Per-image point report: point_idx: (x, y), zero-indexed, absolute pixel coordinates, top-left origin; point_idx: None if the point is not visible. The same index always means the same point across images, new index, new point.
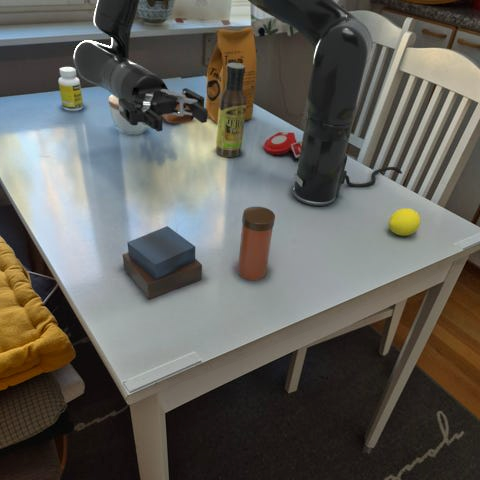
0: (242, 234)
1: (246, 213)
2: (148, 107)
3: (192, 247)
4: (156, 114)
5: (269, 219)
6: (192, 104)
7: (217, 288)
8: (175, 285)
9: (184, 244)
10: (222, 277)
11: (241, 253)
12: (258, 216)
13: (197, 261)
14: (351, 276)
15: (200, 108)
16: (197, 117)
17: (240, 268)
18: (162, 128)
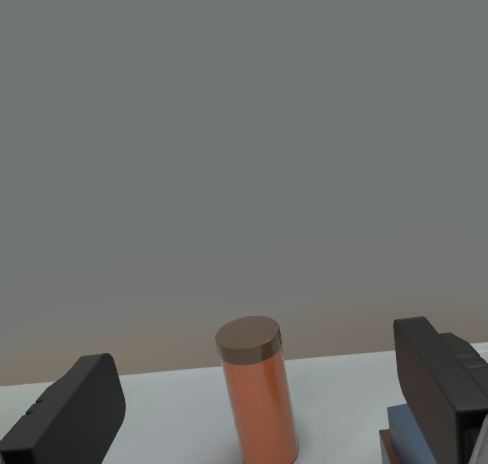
0: (283, 369)
1: (265, 337)
2: (483, 452)
3: (395, 406)
4: (418, 349)
5: (241, 320)
6: (36, 453)
7: (359, 434)
8: None
9: (412, 418)
10: (335, 456)
11: (290, 405)
12: (251, 328)
13: (385, 441)
14: (144, 392)
15: (90, 369)
16: (95, 453)
17: (296, 434)
18: (397, 368)
